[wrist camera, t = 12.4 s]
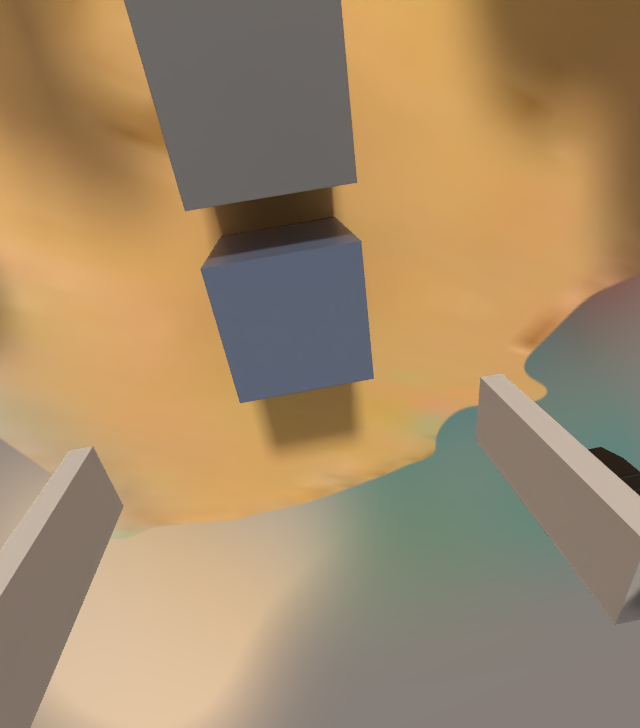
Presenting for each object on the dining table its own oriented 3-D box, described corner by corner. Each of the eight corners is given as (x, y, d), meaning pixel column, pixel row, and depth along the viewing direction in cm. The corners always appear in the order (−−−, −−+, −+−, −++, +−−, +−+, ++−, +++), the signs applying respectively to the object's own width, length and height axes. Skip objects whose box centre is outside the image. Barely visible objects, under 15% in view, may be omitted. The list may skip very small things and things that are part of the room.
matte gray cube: (312, 19, 25) (336, -56, 16) (330, 175, 29) (357, 182, 20) (171, 41, 25) (117, -24, 16) (211, 194, 29) (184, 211, 20)
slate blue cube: (335, 217, 31) (360, 240, 22) (347, 322, 35) (373, 378, 26) (220, 236, 30) (200, 268, 22) (247, 340, 35) (240, 403, 26)
